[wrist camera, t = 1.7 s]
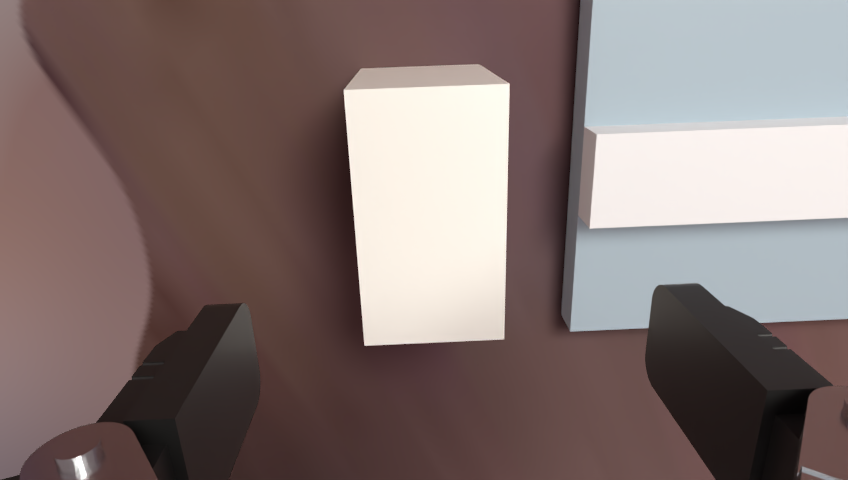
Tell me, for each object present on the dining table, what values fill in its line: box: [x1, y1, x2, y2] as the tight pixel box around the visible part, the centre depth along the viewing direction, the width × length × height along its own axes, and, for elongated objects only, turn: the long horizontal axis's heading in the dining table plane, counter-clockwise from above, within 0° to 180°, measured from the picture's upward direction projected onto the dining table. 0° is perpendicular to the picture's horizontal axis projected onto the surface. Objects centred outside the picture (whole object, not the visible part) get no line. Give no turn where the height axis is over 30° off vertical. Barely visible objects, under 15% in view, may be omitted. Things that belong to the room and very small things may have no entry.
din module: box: [344, 64, 510, 346], centre depth 20 cm, size 8×4×7 cm, turn 2°
